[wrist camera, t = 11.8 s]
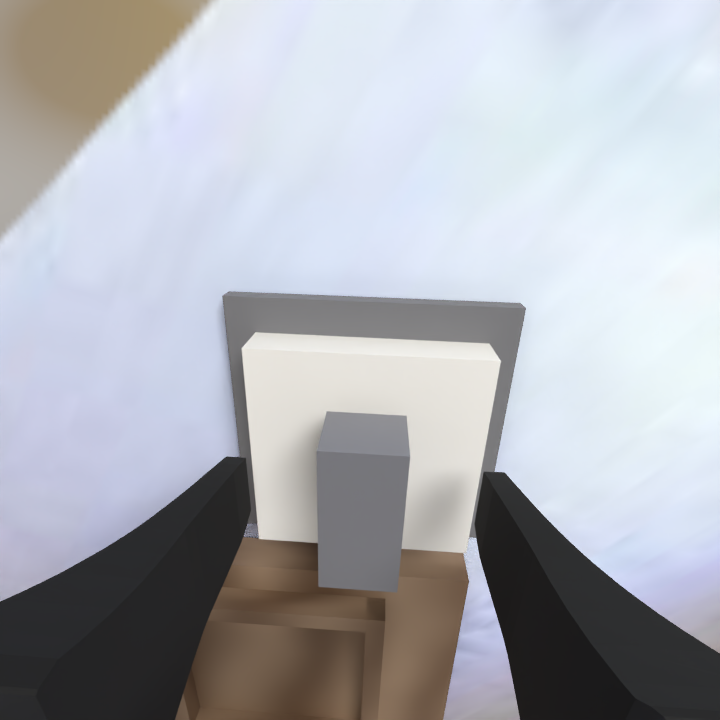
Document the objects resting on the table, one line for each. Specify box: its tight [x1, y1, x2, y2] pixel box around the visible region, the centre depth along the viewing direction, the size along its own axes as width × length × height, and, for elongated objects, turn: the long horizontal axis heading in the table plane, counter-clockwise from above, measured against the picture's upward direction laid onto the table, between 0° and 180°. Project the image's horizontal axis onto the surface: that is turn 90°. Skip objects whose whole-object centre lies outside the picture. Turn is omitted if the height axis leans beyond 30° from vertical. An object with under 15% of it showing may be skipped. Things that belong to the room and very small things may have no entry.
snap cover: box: [242, 332, 501, 593], centre depth 14 cm, size 8×8×4 cm
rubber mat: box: [223, 292, 526, 538], centre depth 16 cm, size 10×10×1 cm
